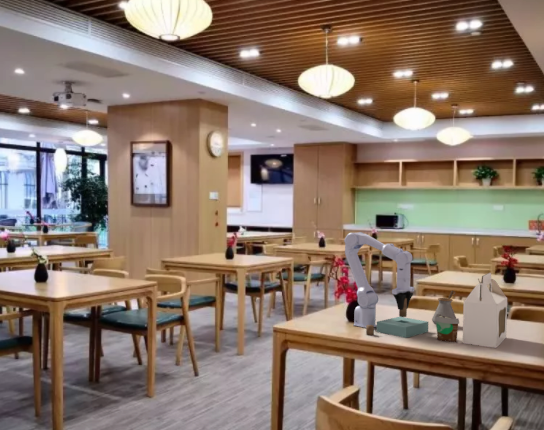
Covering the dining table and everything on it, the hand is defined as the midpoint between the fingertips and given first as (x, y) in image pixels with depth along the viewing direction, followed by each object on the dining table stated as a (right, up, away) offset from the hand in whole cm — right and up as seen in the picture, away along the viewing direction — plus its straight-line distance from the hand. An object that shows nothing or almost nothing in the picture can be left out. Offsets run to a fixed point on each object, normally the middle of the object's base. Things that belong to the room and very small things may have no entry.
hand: (402, 309), depth 256 cm
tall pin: (0, -3, 0) cm, 3 cm away
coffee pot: (+25, -11, +18) cm, 32 cm away
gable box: (+32, -11, -14) cm, 36 cm away
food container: (+14, -11, -14) cm, 23 cm away
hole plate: (0, -10, 0) cm, 10 cm away
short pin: (-16, -10, -6) cm, 20 cm away
